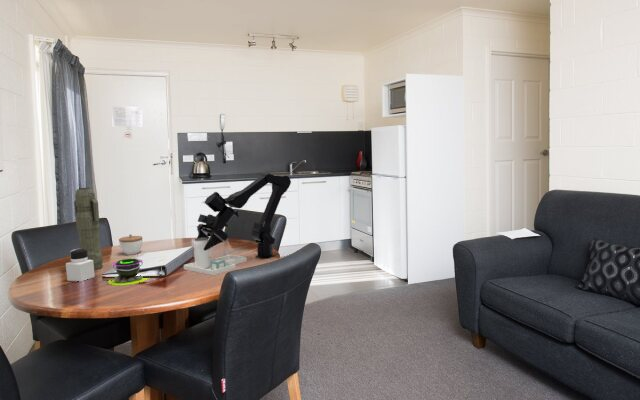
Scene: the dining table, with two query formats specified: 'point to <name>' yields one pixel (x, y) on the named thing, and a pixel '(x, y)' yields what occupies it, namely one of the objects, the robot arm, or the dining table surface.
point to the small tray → (232, 259)
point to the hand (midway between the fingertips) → (199, 248)
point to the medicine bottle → (79, 266)
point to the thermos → (88, 224)
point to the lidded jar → (131, 244)
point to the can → (201, 253)
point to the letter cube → (217, 264)
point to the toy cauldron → (127, 272)
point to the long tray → (208, 270)
